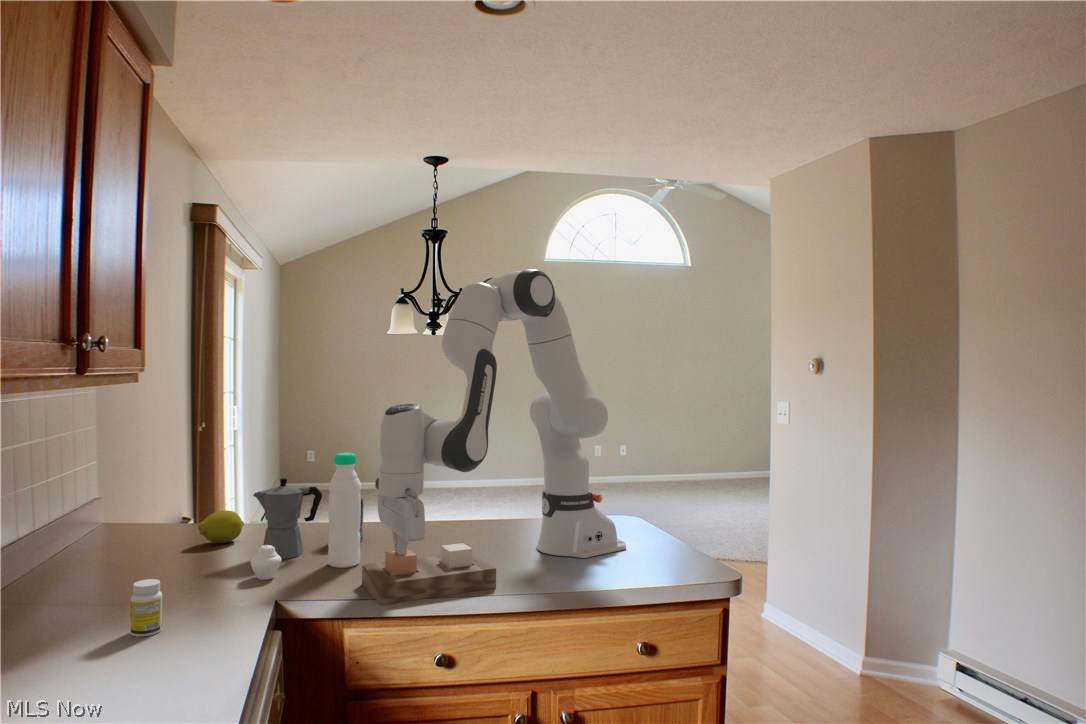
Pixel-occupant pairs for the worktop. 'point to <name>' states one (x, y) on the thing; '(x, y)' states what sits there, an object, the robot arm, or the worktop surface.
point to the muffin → (266, 562)
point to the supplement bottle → (146, 608)
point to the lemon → (221, 526)
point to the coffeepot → (286, 516)
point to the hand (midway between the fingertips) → (400, 553)
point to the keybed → (427, 580)
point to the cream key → (456, 555)
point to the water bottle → (344, 513)
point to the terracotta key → (400, 563)
